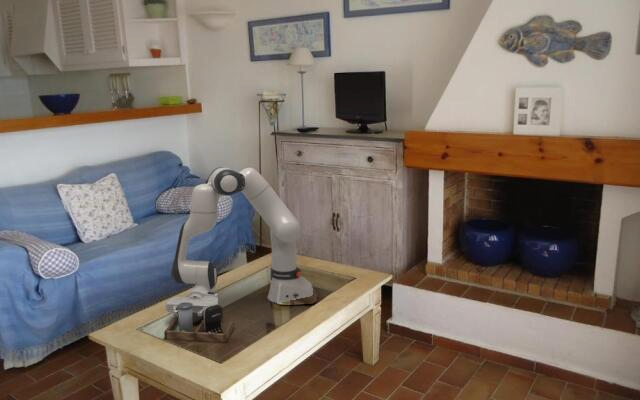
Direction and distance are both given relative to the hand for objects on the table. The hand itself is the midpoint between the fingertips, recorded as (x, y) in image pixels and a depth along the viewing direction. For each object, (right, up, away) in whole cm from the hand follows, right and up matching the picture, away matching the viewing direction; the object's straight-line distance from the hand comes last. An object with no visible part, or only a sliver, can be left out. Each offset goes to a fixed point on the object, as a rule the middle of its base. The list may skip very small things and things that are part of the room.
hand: (187, 313), depth 206 cm
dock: (+5, -7, 0) cm, 9 cm away
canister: (-1, -7, 0) cm, 7 cm away
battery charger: (+10, -8, -1) cm, 13 cm away
